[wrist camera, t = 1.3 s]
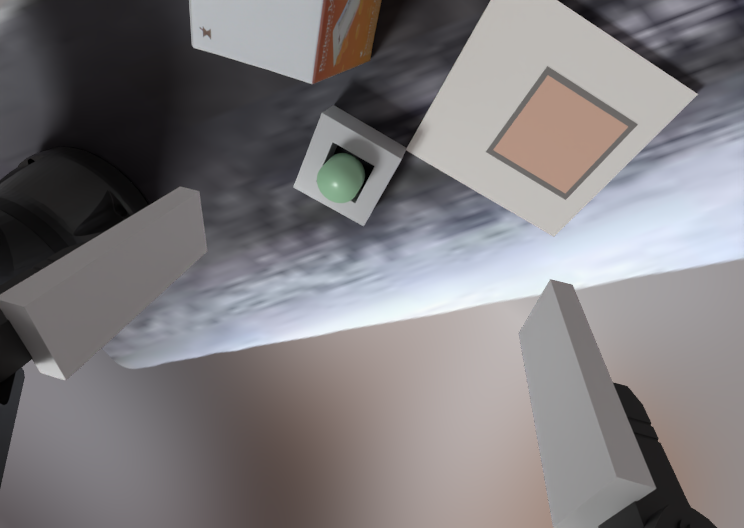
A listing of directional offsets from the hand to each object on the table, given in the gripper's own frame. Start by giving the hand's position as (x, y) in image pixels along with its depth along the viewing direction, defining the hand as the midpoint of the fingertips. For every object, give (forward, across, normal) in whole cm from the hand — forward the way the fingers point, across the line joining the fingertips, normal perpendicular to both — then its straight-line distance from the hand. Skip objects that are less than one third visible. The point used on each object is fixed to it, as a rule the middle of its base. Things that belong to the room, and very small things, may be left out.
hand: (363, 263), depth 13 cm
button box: (+20, -5, -4) cm, 21 cm away
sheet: (+20, +9, +2) cm, 22 cm away
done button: (+17, -5, -4) cm, 18 cm away
